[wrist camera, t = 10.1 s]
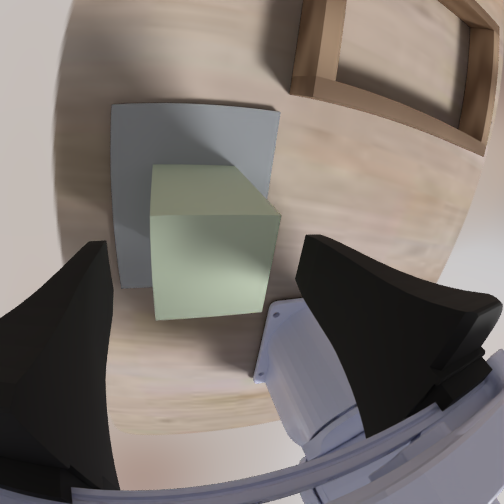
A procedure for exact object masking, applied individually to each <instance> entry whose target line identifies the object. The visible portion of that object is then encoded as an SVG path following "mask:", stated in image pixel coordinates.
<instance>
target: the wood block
mask: <svg viewBox="0 0 504 504" xmlns="http://www.w3.org/2000/svg"><path fill="white" fill-rule="evenodd" d="M280 220H281V214H280V213H279V212H278V211H277V210H276V209H275V208H274V207H273V206H272V205H271V204H270V202H269V201H268V200H267V199H266V198H265V197H264V196H263V195H262V194H261V193H260V192H259V191H258V190H257V189H256V188H255V186H254V185H253V184H252V183H251V182H250V181H249V180H248V179H247V178H246V177H245V176H244V175H243V174H242V173H241V172H240V171H239V170H238V169H237V168H236V167H235V166H223V165H183V164H155V165H153V168H152V183H151V201H150V242H151V265H152V282H153V296H154V307H155V318H156V320H171V319H187V318H201V317H213V316H225V315H236V314H246V313H256V312H262V308H263V304H264V299H265V294H266V289H267V285H268V280H269V275H270V270H271V265H272V260H273V255H274V250H275V245H276V240H277V235H278V230H279V225H280Z"/></svg>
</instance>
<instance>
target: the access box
mask: <svg viewBox="0 0 504 504" xmlns="http://www.w3.org/2000/svg"><path fill="white" fill-rule="evenodd" d="M438 1H439V2H440V3H442V4H443V5H444V6H445V7H447V8H448V9H449V10H450V11H452V12H453V13H454V14H455V15H456V16H458V17H459V18H460V19H461V20H462V21H463V22H464V23H466V24H467V25H468V26H469V27H470V46H469V60H468V70H467V79H466V87H465V94H464V100H463V107H462V112H461V118H460V123H459V128H458V129H456V128H454V127H452V126H450V125H448V124H446V123H444V122H442V121H440V120H438V119H436V118H434V117H432V116H430V115H427V114H425V113H423V112H421V111H418V110H416V109H414V108H411V107H409V106H407V105H404V104H402V103H399V102H397V101H394V100H391V99H389V98H386V97H383V96H381V95H378V94H375V93H372V92H369V91H366V90H363V89H360V88H357V87H354V86H351V85H347V84H344V83H341V82H337V81H336V75H337V68H338V62H339V55H340V48H341V41H342V33H343V26H344V18H345V9H346V0H303V6H302V13H301V20H300V27H299V34H298V41H297V47H296V54H295V61H294V68H293V74H292V81H291V87H290V95H296V96H301V97H306V98H311V99H315V100H320V101H324V102H329V103H333V104H337V105H341V106H345V107H349V108H353V109H356V110H360V111H363V112H367V113H370V114H374V115H377V116H380V117H383V118H386V119H390V120H393V121H396V122H399V123H401V124H404V125H407V126H410V127H413V128H415V129H418V130H421V131H423V132H426V133H429V134H431V135H434V136H436V137H438V138H441V139H443V140H446V141H448V142H450V143H453V144H455V145H457V146H459V147H462V148H464V149H466V150H469V151H471V152H474V153H476V154H478V155H480V156H483V157H484V153H485V149H486V145H487V140H488V135H489V130H490V125H491V120H492V114H493V108H494V101H495V93H496V85H497V74H498V61H499V26H498V25H497V23H496V22H495V21H494V20H493V19H492V18H491V17H490V16H489V15H488V13H487V12H486V11H485V10H484V9H483V8H482V7H481V6H480V5H479V4H478V3H477V2H476V1H475V0H438Z"/></svg>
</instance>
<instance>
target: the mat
mask: <svg viewBox="0 0 504 504" xmlns="http://www.w3.org/2000/svg"><path fill="white" fill-rule="evenodd" d="M279 119H280V112H278V111H271V110H264V109H255V108H246V107H236V106H224V105H210V104H189V103H130V104H113V105H112V110H111V147H110V154H111V192H112V209H113V222H114V233H115V243H116V252H117V261H118V268H119V275H120V282H121V289H123V288H145V287H153V282H152V265H151V242H150V201H151V183H152V168H153V165H155V164H183V165H223V166H235V167H236V168H237V169H238V170H239V171H240V172H241V173H242V174H243V175H244V176H245V177H246V178H247V179H248V180H249V181H250V182H251V183H252V184H253V185H254V186H255V188H256V189H257V190H258V191H259V192H260V193H261V194H262V195H263V196H264V197H265V198H266V199H267V196H268V190H269V183H270V177H271V171H272V164H273V158H274V151H275V145H276V138H277V132H278V125H279Z"/></svg>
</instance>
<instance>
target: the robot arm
mask: <svg viewBox="0 0 504 504" xmlns="http://www.w3.org/2000/svg"><path fill="white" fill-rule="evenodd" d="M295 280H296V282H297V285H298V287H299V290H300V292H301V294H302V297H303V298H298V299H290V300H281V301H275V302H273V303H272V304H271V305H270V307H269V311H268V315H267V320H266V324H265V329H264V333H263V338H262V342H261V346H260V351H259V355H258V359H257V364H256V368H255V372H254V377H253V381H254V383H264V382H265V383H266V386H267V388H268V390H269V393H270V395H271V398H272V400H273V402H274V405H275V407H276V409H277V412H278V414H279V416H280V419H281V421H282V423H283V426H284V428H285V430H286V432H287V434H288V435H289V437H290V438H291V439H292V440H293V441H294V442H295V443H297V444H298V445H300V446H301V447H302V449H303V451H304V453H305V455H306V456H305V457H303V458H302V459H301V460H300V463H299V464H298V465H296V466H292V467H288V468H285V469H281V470H278V471H274V472H270V473H266V474H263V475H258V476H254V477H249V478H245V479H240V480H235V481H229V482H224V483H218V484H211V485H204V486H196V487H188V488H177V489H166V490H165V489H164V490H138V491H123V490H120V487H119V483H118V479H117V474H116V470H115V465H114V460H113V455H112V448H111V442H110V435H109V426H108V416H107V404H106V383H105V378H106V363H107V354H108V345H109V337H110V330H111V323H112V316H113V291H114V290H113V285H112V279H111V272H110V266H109V259H108V251H107V243H106V241H89V242H88V243H87V244H86V245H85V246H83V247H82V248H81V249H80V250H79V251H78V252H77V253H76V254H75V255H74V256H73V257H72V258H71V259H70V260H69V261H68V262H67V263H66V264H65V265H64V266H63V267H62V268H61V269H60V270H59V271H58V272H57V273H56V274H55V275H53V276H52V277H51V278H50V279H49V280H48V281H47V282H46V283H45V284H44V285H43V286H42V287H41V288H39V289H38V290H37V291H36V292H35V293H34V294H32V295H31V296H30V297H29V298H28V299H26V300H25V301H24V302H22V303H21V304H20V305H19V306H17V307H16V308H15V309H13V310H11V311H10V312H9V313H7V314H6V315H4V316H3V317H1V318H0V504H262V503H266V502H270V501H274V500H277V499H281V498H284V497H288V496H291V495H294V494H297V493H300V495H301V497H302V499H303V502H304V504H500V503H499V501H498V500H497V496H498V495H499V494H500V493H501V492H502V490H503V489H504V350H503V349H499V350H498V351H497V352H496V353H494V354H493V355H492V356H491V357H490V358H489V359H488V360H487V361H485V360H484V359H483V358H482V356H483V355H484V354H485V350H484V349H483V348H482V347H481V345H482V344H483V343H484V341H485V340H486V338H487V337H488V335H489V334H490V332H491V331H492V329H493V328H494V326H495V324H496V323H497V321H498V319H499V317H500V315H501V312H502V307H503V306H502V303H501V302H500V301H499V300H498V299H497V298H496V297H494V296H492V295H490V294H485V293H478V292H471V291H464V290H459V289H454V288H450V287H446V286H443V285H438V284H435V283H432V282H429V281H426V280H422V279H420V278H417V277H414V276H411V275H409V274H406V273H404V272H401V271H398V270H396V269H394V268H391V267H389V266H387V265H385V264H383V263H381V262H378V261H376V260H374V259H372V258H370V257H368V256H366V255H364V254H362V253H360V252H358V251H356V250H354V249H352V248H350V247H348V246H346V245H344V244H342V243H340V242H338V241H335V240H333V239H331V238H328V237H326V236H323V235H306V236H305V240H304V245H303V249H302V253H301V257H300V261H299V265H298V270H297V274H296V278H295ZM276 312H277V313H276ZM274 313H276V314H274Z"/></svg>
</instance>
